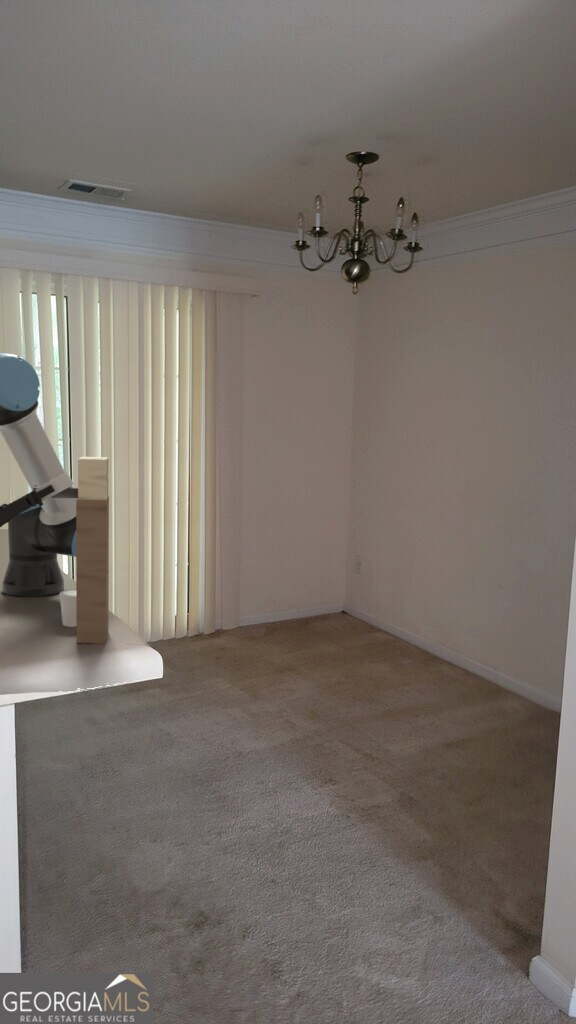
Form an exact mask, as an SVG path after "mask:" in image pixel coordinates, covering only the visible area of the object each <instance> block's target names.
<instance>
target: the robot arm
mask: <svg viewBox="0 0 576 1024" xmlns="http://www.w3.org/2000/svg"><path fill="white" fill-rule="evenodd" d="M39 387H41V384H40V378H39V376H38V373H37V371H36V369H35V368H34V366H33V365H32V364H31V363H30V362H29V361H28V360H27V359H25V358H24V357H21V356H20V355H17V354H11V353H6V352H5V353H4V352H0V433H1V435H2V437H3V439H4V441H5V443H6V445H7V446H8V449H9V450H10V453H11V454H12V455H13V458H14V459H15V462H16V463H17V465H18V467H19V469H20V470H21V473H22V475H23V477H24V478H25V480H26V482H27V484H28V486H29V488H30V490H31V491H30V492H29V493H27V494H25V495H23V496H20V497H18V498H17V499H15V500H14V501H12V502H9V503H3V504H1V505H0V528H2V527H3V526H4V525H6V524H7V525H8V526H7V527H8V530H7V531H8V564H7V567H6V570H5V573H4V576H3V579H2V582H1V591H2V593H3V594H4V595H8V596H16V597H42V596H49V595H50V596H51V595H55V594H58V593H59V594H60V592H62V591H64V590H65V579H64V576H63V573H62V569H61V567H60V564H59V561H58V555H63V556H67V557H68V556H69V557H74V558H76V500H77V499H78V498H50V497H52V496H54V495H55V494H57V493H59V492H61V491H63V490H65V489H67V488H68V487H73V485H75V483H74V482H73V480H72V478H71V477H70V475H69V473H68V472H65V469H64V467H63V465H62V463H61V461H60V459H59V457H58V455H57V453H56V451H55V449H54V447H53V444H52V443H51V440H50V439H49V437H48V436H47V435H48V434H47V433H46V431H45V429H44V427H43V425H42V423H41V421H40V419H39V417H38V415H37V413H36V411H37V409H38V408H39V401H38V399H39V397H40V393H41V390H40V389H39ZM33 487H39V488H37V489H35V490H36V491H37V493H36V491H33Z"/></svg>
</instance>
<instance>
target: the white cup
mask: <svg viewBox="0 0 576 1024" xmlns="http://www.w3.org/2000/svg"><path fill="white" fill-rule="evenodd" d="M59 600H60V601H59V603H60V611H61V613H60V614H61V622H62V625H63V626H65V627H69V628H70V627H71V628H77V627H76V626H77V618H76V588H73V589H66V590H65V589H64V590H63V591H61V592H59ZM74 626H75V627H74Z"/></svg>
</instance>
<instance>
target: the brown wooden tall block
mask: <svg viewBox="0 0 576 1024" xmlns="http://www.w3.org/2000/svg"><path fill="white" fill-rule="evenodd" d="M109 515H110V495H108V498H107V500H78V499H77V500H76V557H75V559H76V561H75V562H76V565H75V566H76V568H75V569H76V572H75V574H76V576H75V577H76V580H75V581H76V587H75V589H76V618H77V627H76V644H77V643H96V644H107V641H108V635H109V618H110V617H109V616H110V615H109V608H110V607H109V603H110V602H109V601H110V599H109V598H110V597H109V596H110V595H109V584H110V583H109V581H110V580H109V578H110V577H109V573H110V570H109V568H110V567H109V566H110V562H109V561H110V550H109V549H110V547H109V546H110V542H109V541H110V531H109V530H110V516H109Z"/></svg>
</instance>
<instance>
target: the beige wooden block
mask: <svg viewBox="0 0 576 1024" xmlns="http://www.w3.org/2000/svg"><path fill="white" fill-rule="evenodd" d="M77 475H78V476H77V487H75V486H72V487H68V488H67V489H65V490H63V491H61V492H59V493H57V494H55V495H54V496H52V497H50V498H78V500H107V498H108V496H109V456H108V457H107V456H106V457H105V456H80V457H79V458H78V459H77ZM37 488H39V487H33V491H36V490H35V489H37ZM36 493H37V491H36Z"/></svg>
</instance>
